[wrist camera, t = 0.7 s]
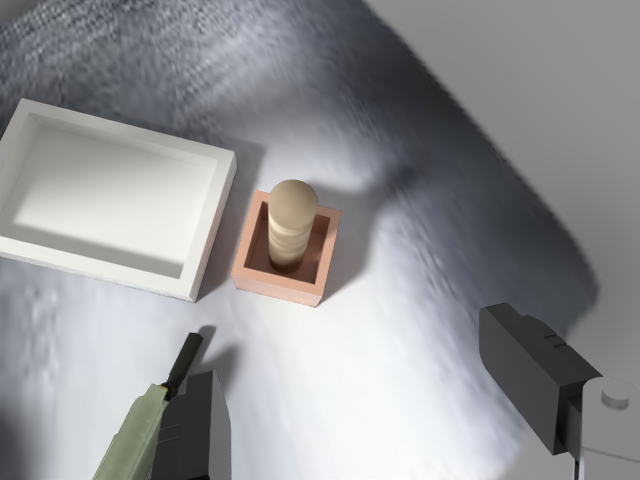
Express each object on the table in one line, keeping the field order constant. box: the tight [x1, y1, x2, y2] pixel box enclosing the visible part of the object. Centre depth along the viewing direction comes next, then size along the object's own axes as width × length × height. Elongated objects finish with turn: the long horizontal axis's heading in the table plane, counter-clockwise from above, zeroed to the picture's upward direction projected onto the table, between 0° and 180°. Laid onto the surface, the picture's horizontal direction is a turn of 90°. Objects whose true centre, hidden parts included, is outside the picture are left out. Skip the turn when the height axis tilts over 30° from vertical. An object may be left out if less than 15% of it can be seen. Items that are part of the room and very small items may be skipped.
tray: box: [0, 98, 237, 303], centre depth 43 cm, size 20×14×4 cm
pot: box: [231, 190, 342, 308], centre depth 42 cm, size 8×8×6 cm
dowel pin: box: [268, 180, 318, 274], centre depth 37 cm, size 3×3×14 cm
